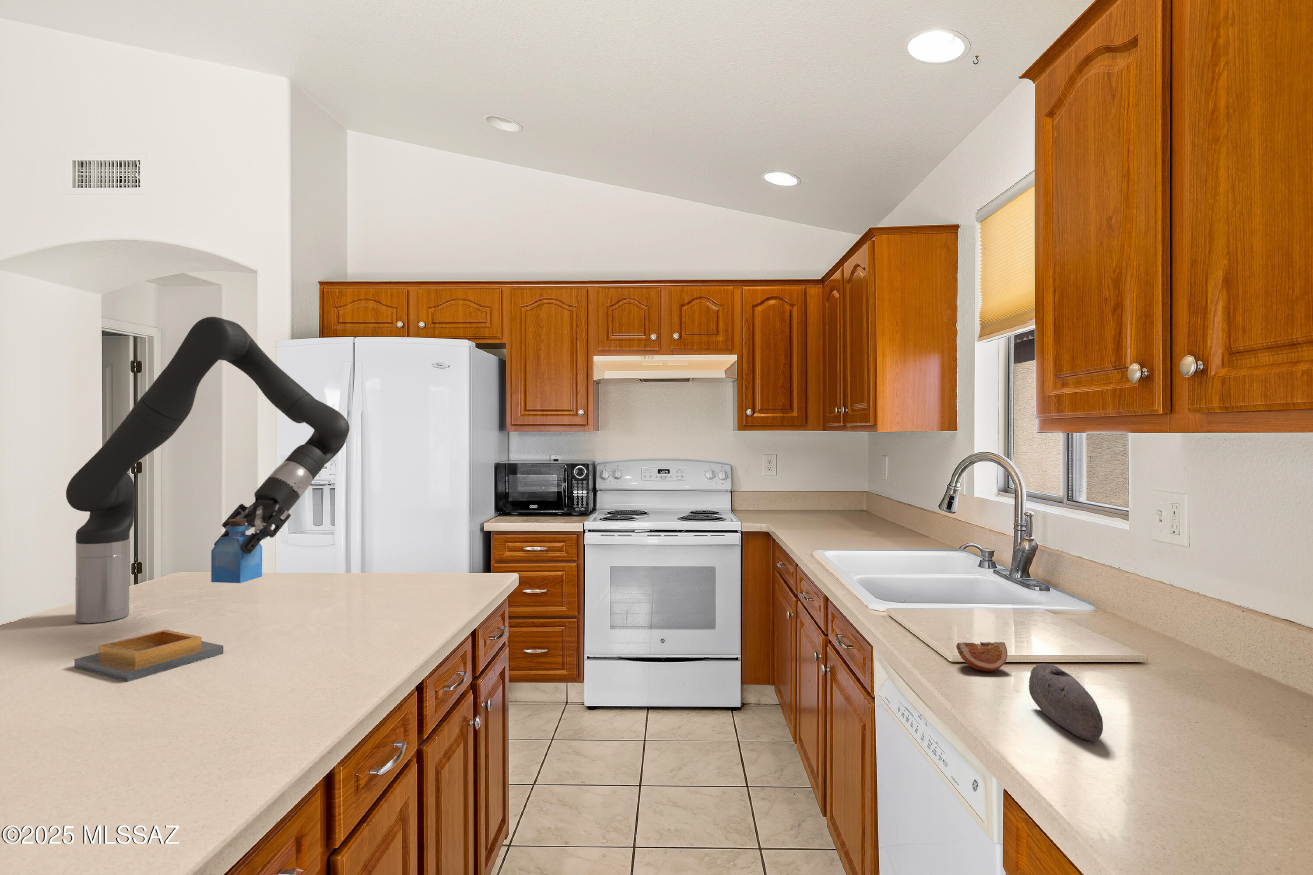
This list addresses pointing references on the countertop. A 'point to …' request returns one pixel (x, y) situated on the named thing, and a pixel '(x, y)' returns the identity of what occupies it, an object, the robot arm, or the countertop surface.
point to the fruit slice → (983, 655)
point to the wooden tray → (147, 655)
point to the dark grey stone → (1065, 701)
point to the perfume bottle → (235, 556)
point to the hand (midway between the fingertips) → (231, 549)
